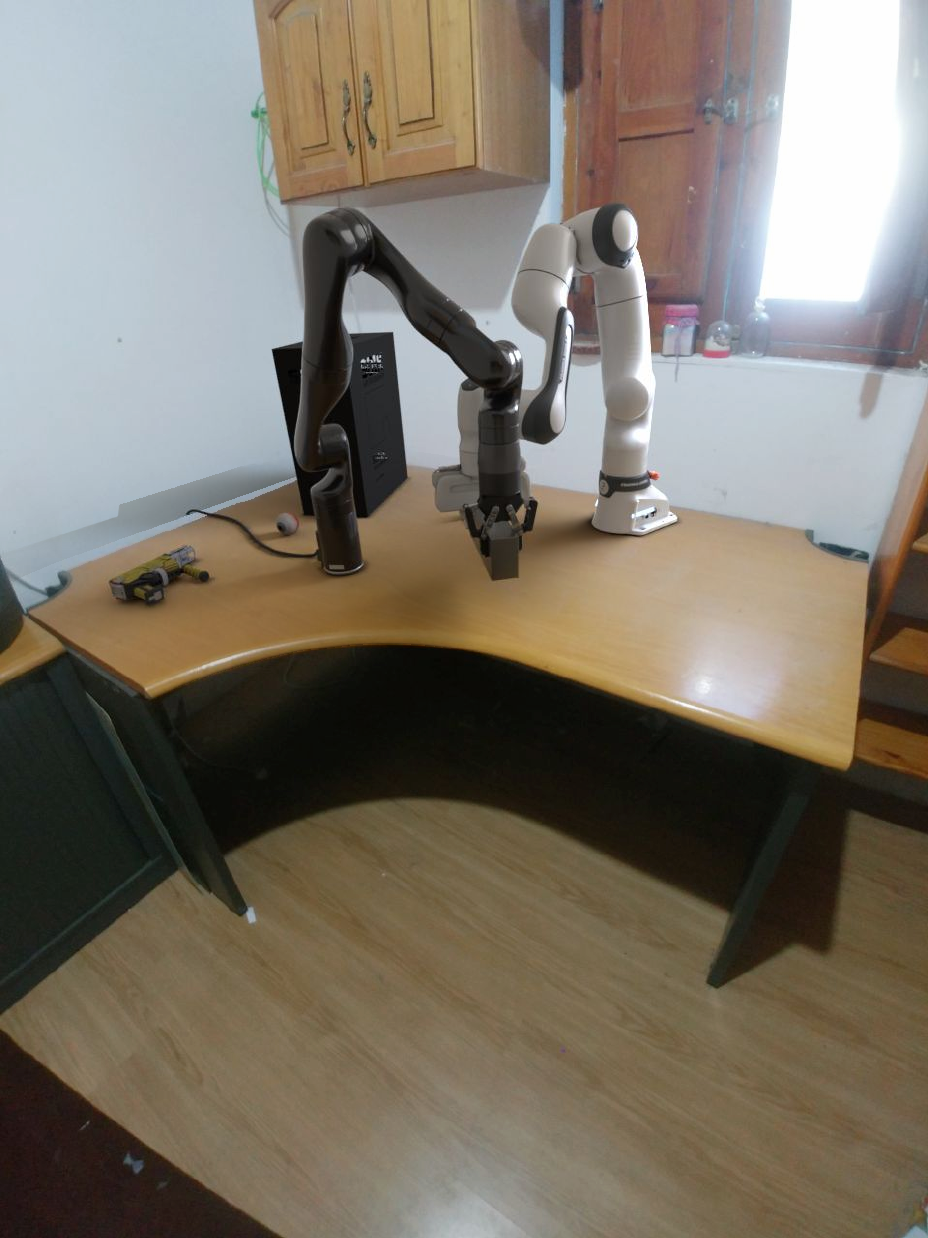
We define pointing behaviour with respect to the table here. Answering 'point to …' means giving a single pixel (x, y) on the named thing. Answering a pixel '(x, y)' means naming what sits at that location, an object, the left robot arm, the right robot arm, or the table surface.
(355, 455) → the cardboard box
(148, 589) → the toy gun
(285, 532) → the eyeball
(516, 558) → the bar
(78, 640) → the table surface
